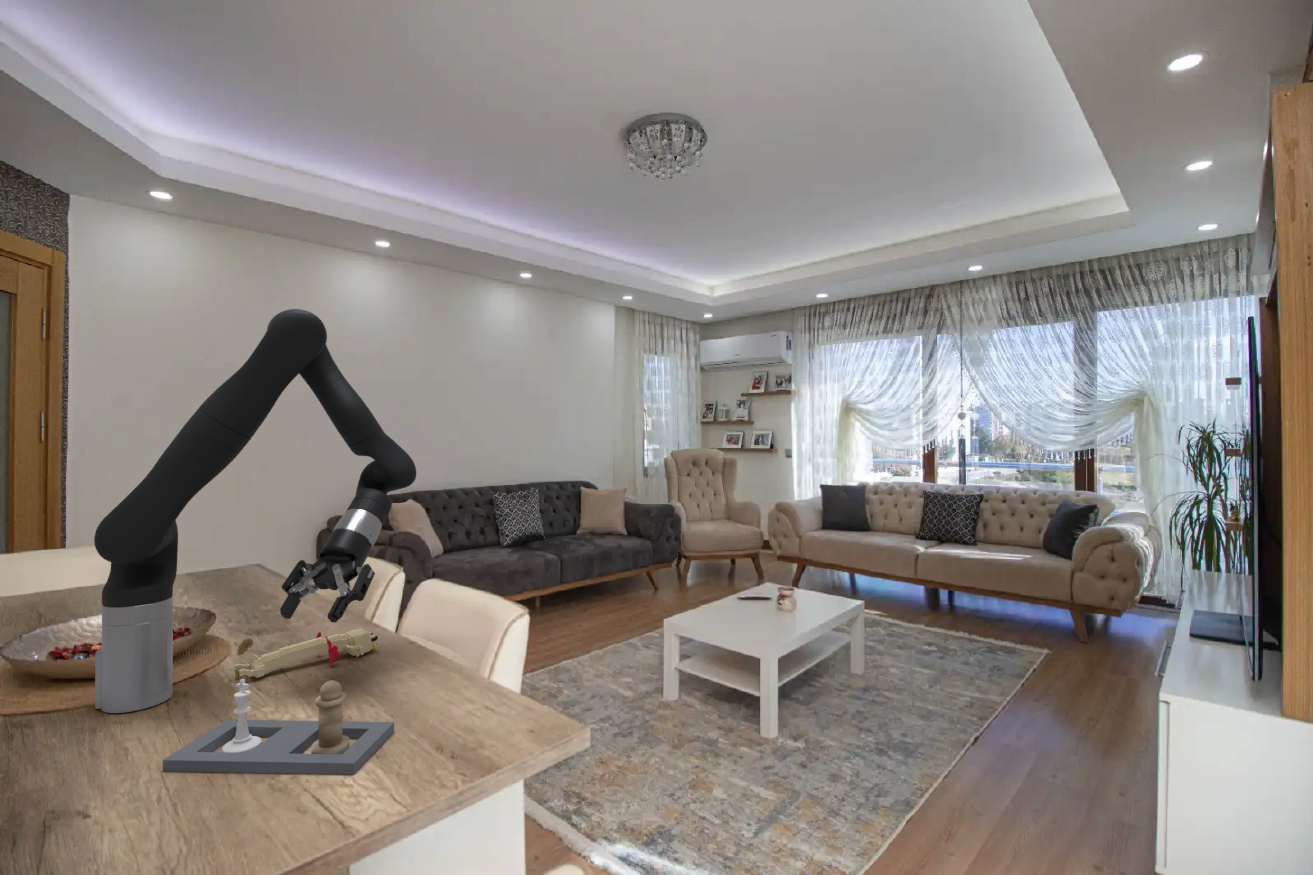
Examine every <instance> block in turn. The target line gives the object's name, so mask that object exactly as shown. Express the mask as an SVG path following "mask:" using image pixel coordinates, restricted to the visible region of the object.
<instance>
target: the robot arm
mask: <svg viewBox="0 0 1313 875" xmlns="http://www.w3.org/2000/svg"><path fill="white" fill-rule="evenodd" d="M266 328H267V329H266V332H265V333H264V335H263V337H262V338H261V339H260V342H258V344H257V345H256V348H255V349H254V350H253V352H252V353H251V354H250V356H249V357H248V359H247V360H246V361H245V362H244V364H242V365H241V367H240V368H239V369H238V370H237V371H236V372H235V373H233V374H232V375H231V376H230V377H228V378H227V379H226V380H225V381H224V382H223V383H222V384H221V385H219V386H218V387H217V388H216V389H215V390H214V391H213V392H212V393H211V394H210V395H209V396H208V397H207V398H206V400H204V401H203V403H201V405H200V406H199V407H198V408H197V409H196V411H195V412H194V413H193V414H192V415H191V417H190V418H189V419H188V420H187V421H186V422H185V424H184V425H183V427H182V428H181V429H180V431H179V432H178V433H177V434H176V436H175V437H174V438H173V439H172V441H171V442H170V443H169V445H168V446H167V447H166V449H165V450H164V452H163V453H162V454H161V455H160V457H159V458H158V459H157V461H156V463H155V464H154V465H153V467H152V468H151V470H150V471H149V472H148V473H147V475H146V476H145V477H144V478H143V479H142V480H141V482H140V483H139V484H137V485H136V486H135V487H134V489H133V490H131V492H130V493H128V495H126V496H125V497H124V499H123V500H121V501H120V503H118V504H117V505H116V506H115V507H114V508H113V509H111V511H110V512H109V513H108V514H107V515H106V516H105V517H103V519H101V521H100V523H98V526H97V527H96V530H95V533H94V539H93V541H94V548H95V550H96V552H97V553H98V555H99V557H101V558H102V559H103V560H105V561H107V562H109V563H110V571H109V574H108V577H107V581H106V582H105V584H104V585H103V588H102V590H101V648H100V649H98V650H97V651H95V658H94V659H95V666H94V667H95V669H94V671H95V673H94V678H95V680H94V681H95V685H94V690H95V691H94V694H95V695H94V696H95V700H94V701H95V702H94V705H95V706H94V708H95V709H99V710H101V711H102V712H103V713H108V714H123V713H130V712H135V711H136V712H137V711H140V710H145V709H147V708H152V707H155V706H157V705H160V704H161V703H164V702H166V701H168V700H169V699H171V698H172V696H173V667H174V666H173V663H174V662H173V658H174V657H173V655H174V654H173V649H174V648H173V646H174V645H173V641H174V637H173V630H174V627H173V626H174V623H173V621H174V618H173V616H174V610H173V609H174V603H173V602H174V601H173V600H174V596H173V595H174V584H175V580H176V577H177V571H178V554H179V552H178V549H179V531H178V524H177V519H178V518H179V516H180V514H181V513H182V511H183V510H184V509H185V507H186V506H187V505H188V504H189V502H191V500H192V499H193V498H195V496H196V495H197V494H198V493H199V492H200V491H202V489H203V488H204V487H206V486H207V485H208V484H209V483H210V482H212V480H213V479H215V478H217V476H218V475H219V474H220V473H221V472H223V471H224V470H225V469H226V468H227V467H228V466H229V465H230V464H231V463H232V462H233V461H234V460H235V458H237V457H238V456H239V454H240V453H241V452H242V451H243V449H244V448H245V447H246V445H248V444H249V442H250V440H252V438H253V437H254V435H255V434H256V432H257V431H258V430H259V428H261V425H262V424H263V423H264V422H265V420H266V418H267V417H268V416H269V414H270V412H272V411H271V410H272V409H273V408H274V406H275V404H276V403H277V401H278V399H279V398H280V397H281V395H282V393H283V392H284V390H285V389H286V388H287V387H288V386H289V385H290V384H291V382H293V380H294V379H295V378H296V377H297V376H298V375H300V377H301V378H302V379H303V381H304V382H305V383H306V384H307V386H308V387H309V388H310V389H311V391H312V392H313V394H314V395H315V397H316V398H317V400H318V402H319V403H320V405H321V406H322V408H323V410H324V411H325V413H326V414H327V416H328V418H329V420H330V421H331V423H332V424H333V426H334V428H335V429H336V431H337V432H338V433H339V435H340V437H341V438H342V439H343V441H344V442H345V443H346V445H347V447H348V448H349V450H350V451H351V452H352V453H353V454H354V455H355V456H358V457H369V458H371V459H372V460H373V461H370V462H369V463H368V464H367V465H366V466H365V467H364V468H363V470H362V471H361V474H360V476H359V480H358V483H357V487H356V489H355V490H356V491H355V495H354V497H353V499H352V501H351V502H350V504H349V506H348V508H347V509H346V511H345V512H344V514H343V515H342V516H341V518H340V519H339V520H338V521H337V523H336V524H335V526H334V528H333V530H332V531H331V533H330V534H329V536H328V538H327V540H326V541H325V542H324V545H323V546H322V548H321V549H320V554H319V558H318V559H317V561H314V563H307V562H306V560H303V559H300V560H299V561H298V562H297V563H296V565H295V567H294V568H293V569H292V570H291V572H290V574H289V575H288V576H287V578H286V579H285V580H284V582H283V584H281V590H283V591H284V593H286V594H287V596H286V598H285V600H284V602H283V603H282V605H281V606H280V609H279V611H280V615H281V616H282V617H283V619H286V620H290V619H292V617H293V615H294V614H295V611H296V610H297V608H299V607H298V606H299V605H300V603H301V601H302V600H301V599H303V598H305V597H306V596H308V595H309V594H314V593H315V592H317V591H318V590H332V591H337V590H338V592H339V595H340V596H337V597H336V598H335V600H334V602H333V604H332V606H331V608H330V609H329V611H328V613H327V619H328V620H329V621H330V623H337V622H338V621H339V620H341V618H342V617H344V615H345V614H344V613H345V612H346V611H347V608H348V607H349V604H351V603H353V601H358V602H362V601H363V600H364V599H365V598H366V595H367V593H368V591H369V588H370V586H371V584H372V581H373V579H374V576H375V574H376V573H375V571H374V569H373V568H372V566H371V565H370V564H369V563H366V560H367V559H368V556H369V554H370V553H371V551H372V549H373V547H374V545H375V544H376V542H377V540H378V538H379V535H380V532H381V529H382V527H383V525H384V524H385V522H386V520H387V518H388V516H389V515H390V511H391V510H392V504H393V503H392V499H391V498H390V497H389V495H388V494H389V493H390V492H394V491H397V490H402V489H405V488H408V487H410V486H411V485H412V484H413V483H414V482H416V479H417V468H416V464H415V461H414V460H413V459H412V458H411V456H410V455H409V453H407V452H406V450H405V449H404V448H402V447H401V446H400V445H398V443H397V442H396V441H395V440H394V439H392V438H391V437H390V436H389V435H387V434H386V432H385V431H384V429H383V428H382V426H381V424H379V423H380V422H378V420H377V419H376V417H375V416H374V414H373V413H372V411H371V410H370V408H369V406H368V405H367V404H366V402H364V400H363V399H362V397H361V396H360V395H359V394H358V393H357V391H356V390H355V388H353V386H352V385H351V384H350V383H349V381H348V380H347V379H346V378H345V376H344V374H343V373H342V372H341V370H340V369H339V367H338V365H337V364H336V362H335V360H334V358H333V357H332V354H331V353H330V351H329V348H328V346H327V340H328V334H327V329H326V328H327V327H326V326H325V324H324V323H323V321H322V320H321V319H320V317H319V316H317V315H316V314H314V313H313V312H311V311H308V310H305V309H299V308H290V309H286V310H283V311H280V312H279V313H277V314H275V315H274V316H273V317H272V318H271V319H270V321H269V322H268V325H267V327H266ZM355 578H356V581H355V583H354V585H353V586H351V583H350V582H351V581H352V580H354V579H355ZM312 580H313V584H311V583H310V582H311V581H312Z"/></svg>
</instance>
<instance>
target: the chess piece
mask: <svg viewBox="0 0 1313 875" xmlns="http://www.w3.org/2000/svg"><path fill="white" fill-rule="evenodd" d="M249 686H250V684H249V683H247V684H245V679H241V680H240V681H239V682H237V683H236V684H235V687H236V688H239V691H237V692H235V693H234V694H233V698H234V700H235V703H236V705H237V707H235V709H233V714H234V715H237V720H238V722H237V729H236V735H235V737H233V738H232V740H229V741H227V742H226V744H225V743H224V744H223V745H222V746H223V747H222V749H221V752H227V753H250V752H251V751H252V750H254V749H255V748H256V747H258V746H259V745H260V744H262V743H263V742H262V741H263V740H262V737H257V736H252V735H251V734H249V730H248V724H247V720H248V719H247V713H248V712H250V711H251V710H252V707H251V706H249V705H247V704H248V702H249V698H250V696H251V694H252V693H251V691H250V690H246V689H247V688H249Z"/></svg>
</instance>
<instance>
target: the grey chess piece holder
mask: <svg viewBox="0 0 1313 875" xmlns="http://www.w3.org/2000/svg"><path fill="white" fill-rule="evenodd" d="M237 722H238V719H225V720H224V721H222V722H221V723H219V724H218V725H216V726H214V727H213V728H211V729H210V730H208V731H206V732H205V733H203V734H202V735H200V736H199V737H198V738H196V739H194V740H192V741H190V742H189V743H188V744H186V745H184V746H182V747H181V748H180V749H178V750H177V751H175V752H173V753H171V754H170V755H169V756H167V757H165V758H163V760H162V772H177V773H178V772H179V773H180V772H181V773H185V772H186V773H187V772H188V773H189V772H190V773H191V772H192V773H235V774H237V773H240V774H241V773H242V774H243V773H244V774H289V775H290V774H293V775H294V774H296V775H297V774H298V775H299V774H300V775H301V774H302V775H305V774H306V775H348V776H349V775H355V774H356V773H357V772H359V769H360V768H361V767H362V766H363V765H364V764H366V763H367V761H368V760H369V759H370V758H371V757H372V756H373V755H374V754H375V753H376V752H377V751H378V750H379V748H381V747H382V745H383V744H384V743H385V742H386V741H387V740H388V739H389V738H390V737H391V736H393V734H394V733H395V721H348V720H345V721H344V720H342V735H345V736H348V737H349V739H355V740H356V739H357V740H356V741H355V742H354V743H352V745H351V746H349V749H348V750H347V751H345V752H344V753H343V754H311V753H304V752H305V751H306V750H308V748H310V747H311V746H312V744H313V743H314V742H315V741H317V740H319V720H291V719H290V720H288V719H287V720H286V719H285V720H283V719H280V720H279V719H275V720H274V719H247V724H248V730H249V734H251V735H252V736H257V737H260V738H267V739H266V740H265V741H263V742H262V744H260V745H259V746H258V747H256V748H255V749H254V750H252V751H251V752H250V753H227V752H222V751H220V752H218V751H217V752H216V750H217V749H218V748H220V747H221V746H224V745H225V743H226V744H227V743H228V742H230V741H231V739H233V738H234V737H235V735H236V729H237Z"/></svg>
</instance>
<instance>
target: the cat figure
mask: <svg viewBox="0 0 1313 875" xmlns="http://www.w3.org/2000/svg"><path fill="white" fill-rule="evenodd" d="M375 642H376V643H375ZM239 644H240V645H238V648H237V649H236V653H237V656H240V657H241V658H244V659H248V660H250V661H249V663H247V664H245V663H242V664H241V662H240V663H237V664H234V675H235V678H236V680H239V682H240V680H241V679H245V684H248V683H249V682H248V678H250V677H254V678H256V679H258V678H261V677H264V676H265V675H268V674H270V672H272V671H275V670H279V669H282V668H286V667H288V665H291V664H294V663H298V662H300V661H305V660H307V659H311V658H315V657H317V656H318V658H320V657H322V656H326V655H328V658H329V662H328V666H330V667H331V666H332V665H333V664H334V663H335V660H337V659H339V658H340V657H341V654H340V652H345V651H346V652H347V653H348V654H350V655H351V656H353V657H357V658H358V657H359V656H363V655H364V654H365V653H368V652H370V651H372V650H375V649H376V648H377V647H378V645H379V644H381V641H378V635H377V634H374V633H373V632H371V631H367V630H366V629H365V628H362V627H358V628H355V629H352V630H348V631H346V632H344V633H341V634H338V633H335V634H332V635H328V636H324V637H323V636H322V632H321V631H319V632H318V633H317V635H316V637H315V638H312V639H309V640H304V641H301V642H298V643H294V644H291V645H287V646H283V647H280V648H278V649H277V650H274V651H271V652H268V653H264V654H260V655H259V656H258V655H257V654H255V653H253V652H251V651H249V650H248V649H249V648H252V646H254V640H253V639H252V638H251V637H247V638H243V640H242V642H240V643H239Z"/></svg>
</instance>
